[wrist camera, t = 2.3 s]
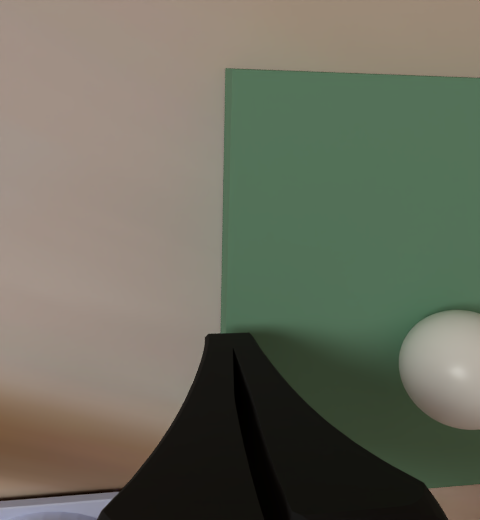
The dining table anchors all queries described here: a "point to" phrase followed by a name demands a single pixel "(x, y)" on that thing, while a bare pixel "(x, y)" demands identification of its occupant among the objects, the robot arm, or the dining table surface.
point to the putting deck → (353, 243)
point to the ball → (444, 367)
